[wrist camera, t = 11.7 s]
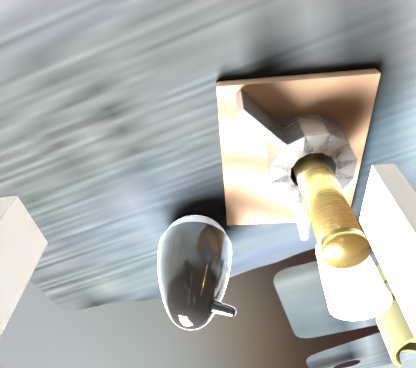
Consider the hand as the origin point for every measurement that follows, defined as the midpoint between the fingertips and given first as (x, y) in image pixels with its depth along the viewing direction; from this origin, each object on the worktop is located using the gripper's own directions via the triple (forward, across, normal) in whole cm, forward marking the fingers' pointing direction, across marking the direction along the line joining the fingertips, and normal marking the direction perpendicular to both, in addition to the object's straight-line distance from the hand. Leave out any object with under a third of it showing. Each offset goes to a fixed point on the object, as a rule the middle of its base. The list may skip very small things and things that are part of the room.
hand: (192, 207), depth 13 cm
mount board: (+25, +8, -15) cm, 30 cm away
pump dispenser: (+24, -5, -27) cm, 37 cm away
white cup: (+24, +16, -33) cm, 44 cm away
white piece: (+23, +8, -15) cm, 29 cm away
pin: (+23, +10, -13) cm, 28 cm away
